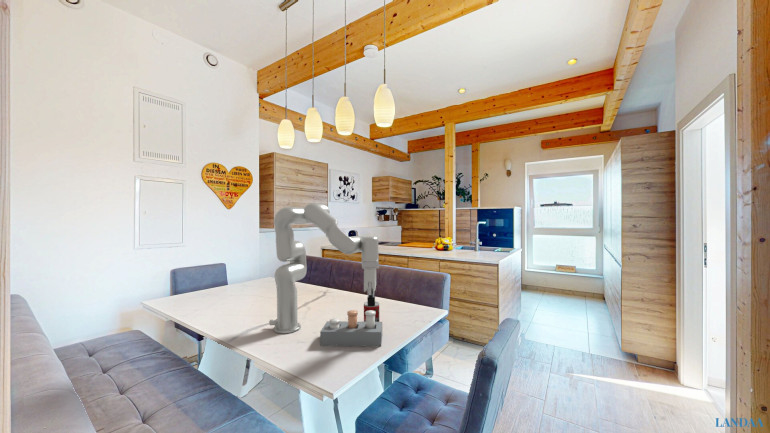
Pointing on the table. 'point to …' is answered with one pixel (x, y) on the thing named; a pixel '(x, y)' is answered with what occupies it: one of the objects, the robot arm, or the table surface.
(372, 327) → the grey plug
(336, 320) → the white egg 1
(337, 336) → the socket board
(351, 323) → the plug terracotta
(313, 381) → the table surface
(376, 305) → the canned food
